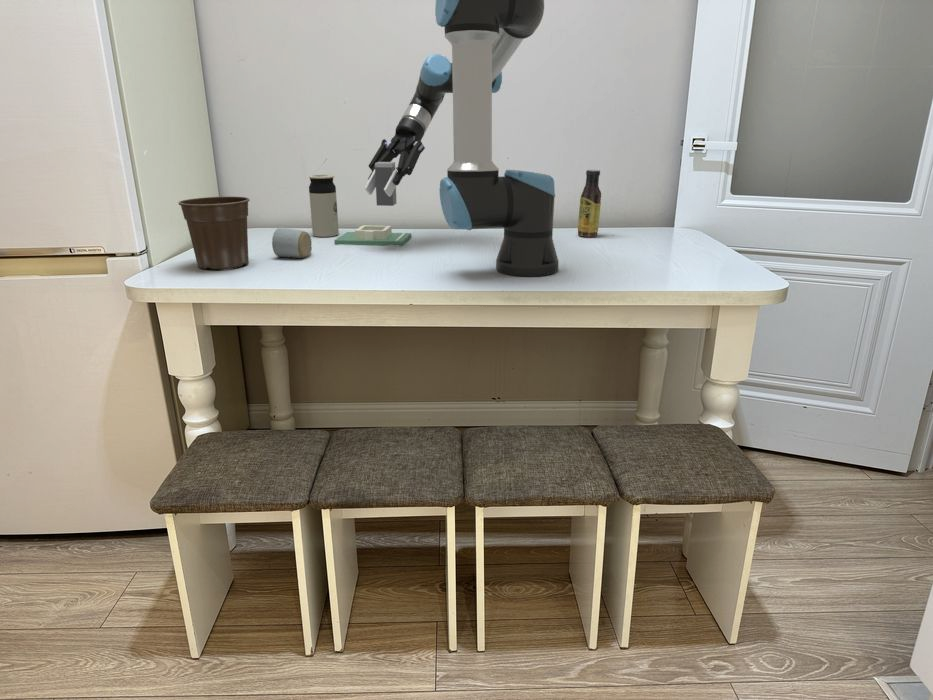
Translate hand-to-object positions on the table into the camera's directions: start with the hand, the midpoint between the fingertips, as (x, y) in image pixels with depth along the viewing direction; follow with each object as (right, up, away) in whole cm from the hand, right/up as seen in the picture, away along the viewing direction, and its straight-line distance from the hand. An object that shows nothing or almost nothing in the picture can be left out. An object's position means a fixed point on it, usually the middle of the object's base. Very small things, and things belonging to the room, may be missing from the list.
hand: (377, 192), depth 173 cm
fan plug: (+2, -2, +4) cm, 5 cm away
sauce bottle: (+61, -7, +27) cm, 68 cm away
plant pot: (-37, -21, -10) cm, 44 cm away
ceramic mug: (-22, -17, 0) cm, 28 cm away
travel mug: (-20, -7, +29) cm, 36 cm away
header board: (-4, -9, +20) cm, 23 cm away
